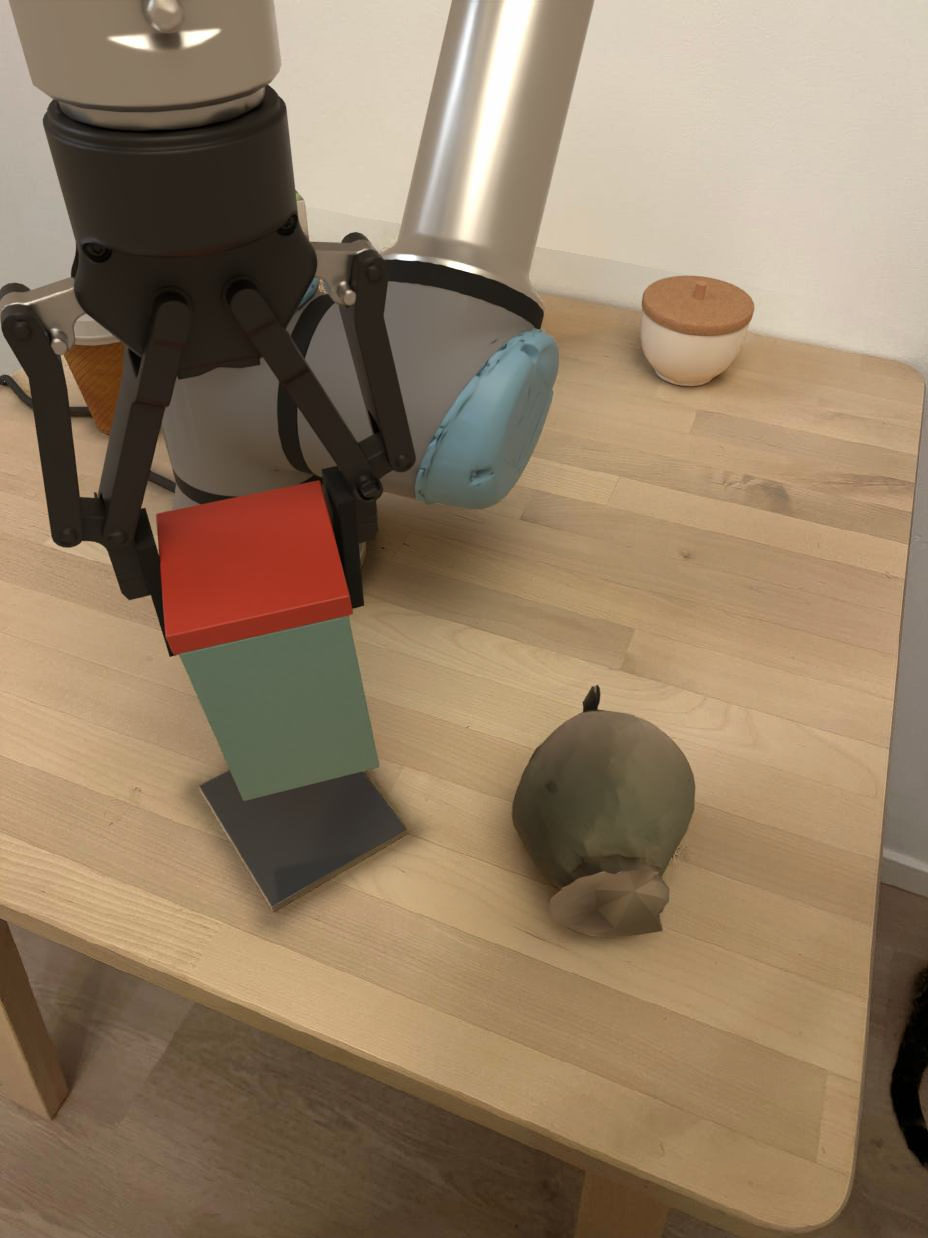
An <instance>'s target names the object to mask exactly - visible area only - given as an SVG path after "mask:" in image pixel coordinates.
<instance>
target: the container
mask: <svg viewBox="0 0 928 1238" xmlns="http://www.w3.org/2000/svg"><path fill="white" fill-rule="evenodd" d="M155 518H156V520H155V521H156V533H157V545H158V554H159V559H160V572H161V585H162V598H163V611H164V623H165V636H166V639H167V641H168V644H169V646H170V648H171V650H172V652H173V654H174V655H176V654H179V655H178V656H179V659H180V661H181V662H182V665H183V667H184V669H185V672H186V674H187V676H188V678H189V681H190V683H191V685H192V688H193V690H194V692H195V694H196V695H195V696H196V697H197V699H198V701H199V703H200V706H201V709H202V711H203V712H204V715H205V717H206V719H207V722H208V724H209V726H210V729H211V731H212V733H213V736H214V737H215V740H216V742H217V744H218V746H219V750H220V751H221V753H222V756H223V758H224V760H225V762H226V765H227V767H228V769H229V770H230V772H231V774H232V776H233V778H234V781H235V783H236V785H237V787H238V790H239V792H240V794H241V796H242V799H243V801H246V800H250V799H254V798H258V797H262V796H266V795H270V794H274V793H278V792H282V791H286V790H290V789H294V788H298V787H302V786H306V785H310V784H314V783H318V782H322V781H326V780H330V779H334V778H338V777H342V776H346V775H350V774H354V773H358V772H362V771H363V772H365V771H370V770H374V769H377V768H380V763H379V757H378V753H377V747H376V743H375V737H374V733H373V729H372V723H371V719H370V714H369V708H368V705H367V704H368V703H367V698H366V693H365V689H364V688H365V687H364V684H363V679H362V674H361V669H360V664H359V660H358V654H357V650H356V649H357V648H356V644H355V640H354V634H353V630H352V626H351V625H352V624H351V620H350V616H352V615H353V614H354V611H353V610H354V609H352V605H351V600H350V595H349V591H348V587H347V584H346V580H345V576H344V572H343V568H342V564H341V560H340V556H339V552H338V548H337V544H336V540H335V536H334V532H333V529H332V525H331V521H330V517H329V513H328V509H327V505H326V501H325V497H324V493H323V489H322V485H321V482H320V481H314V482H309V483H304V484H299V485H294V486H289V487H284V488H279V489H274V490H270V491H265V492H260V493H255V494H250V495H245V496H240V497H235V498H230V499H225V500H221V501H216V502H211V503H206V504H201V505H196V506H191V507H186V508H181V509H177V510H173V509H172V510H167V511H161V512H157V513H156V514H155ZM176 656H177V655H176Z"/></svg>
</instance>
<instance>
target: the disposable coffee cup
mask: <svg viewBox="0 0 928 1238" xmlns="http://www.w3.org/2000/svg"><path fill="white" fill-rule="evenodd" d="M74 333H75V338H76V340H75V344H74V346H73V348H72V349H71V350H70V351H68V352H67V353H65V354H64V355H63V357H64V359H65V361H66V364H67V365H68V368H69V370H70V372H71V374H72V376H73V378H74V381H75V383H76V386H77V387H78V390H79V391H80V393H81V396H82V398H83V400H84V401H85V404H86V407H88V408H89V411H90V413H91V417H92V419H93V421H94V423H95V426H96V428H97V429H98V430H99V431H100V432H101V433H103V434H106V435H108V436H110V432H111V427H112V422H113V418H114V413H115V408H116V403H117V398H118V393H119V389H120V384H121V379H122V374H123V355H124V349H125V344H123V343H122V342H121V341H120V340H118V339H117V338H116V337H115V336H113V335H112V334H111V333H110V332H108V331H107V330H106V329H105V328H103V327H102V326H101V325H100V324H98V323H97V322H96V321H95V320H94V319H92V318H91V317H90V316H89V315H87V314H85V315H83V316H81V317H79V318H78V319H77V321H76V323H75V324H74Z"/></svg>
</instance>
